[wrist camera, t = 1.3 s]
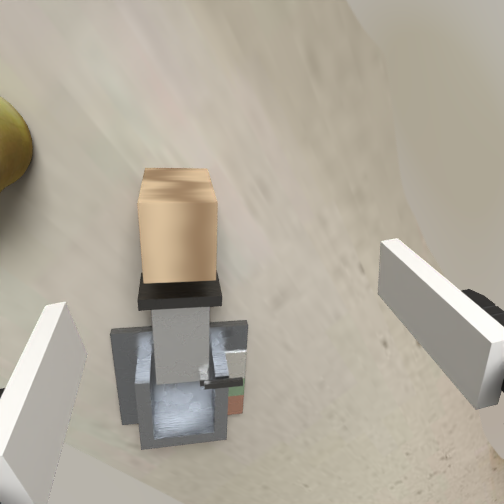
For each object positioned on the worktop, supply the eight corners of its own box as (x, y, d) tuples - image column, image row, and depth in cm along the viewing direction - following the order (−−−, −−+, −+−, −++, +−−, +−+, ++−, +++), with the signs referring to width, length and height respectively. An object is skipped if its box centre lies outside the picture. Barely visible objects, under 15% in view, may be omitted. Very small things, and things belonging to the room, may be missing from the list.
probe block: (149, 233, 41) (143, 283, 32) (145, 167, 38) (137, 203, 29) (206, 232, 42) (216, 280, 33) (207, 168, 39) (217, 202, 30)
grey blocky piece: (148, 367, 47) (146, 400, 43) (141, 272, 41) (137, 300, 37) (236, 359, 49) (243, 391, 45) (241, 268, 43) (249, 294, 39)
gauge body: (123, 418, 52) (118, 452, 48) (111, 328, 45) (104, 358, 41) (241, 406, 55) (247, 437, 51) (246, 320, 48) (254, 347, 44)
